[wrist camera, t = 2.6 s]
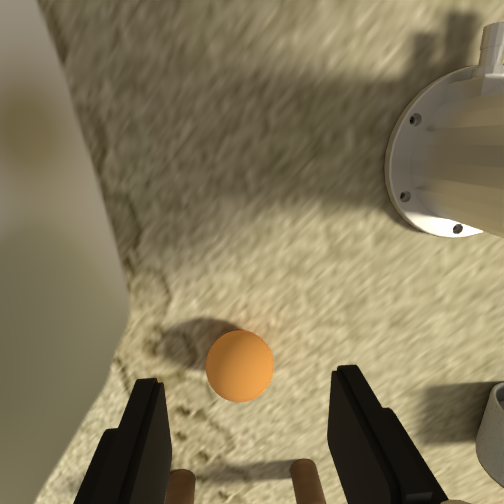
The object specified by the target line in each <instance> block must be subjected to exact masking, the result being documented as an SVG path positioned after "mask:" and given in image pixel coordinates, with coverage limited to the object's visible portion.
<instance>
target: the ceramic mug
mask: <svg viewBox="0 0 504 504" xmlns="http://www.w3.org/2000/svg"><path fill="white" fill-rule="evenodd" d="M476 454H477V457H478V460H479V462H480V464H481V465H482V467H483V468H484V470H485V471H486V472H487V473H488V475H489V476H490V477H491V478H492V479H493V480H494V481H496V482H497V483H498V484H499V485H500V486H501V487H503V488H504V382H501V383H499V384H497V385H495V386H494V387H493V388H492V390H491V393H490V396H489V400H488V403H487V406H486V409H485V412H484V415H483V419H482V422H481V425H480V428H479V431H478V434H477V437H476Z"/></svg>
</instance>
